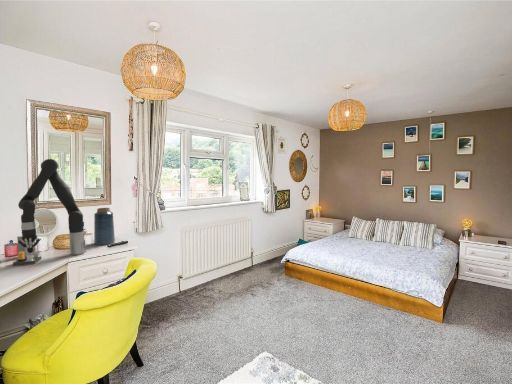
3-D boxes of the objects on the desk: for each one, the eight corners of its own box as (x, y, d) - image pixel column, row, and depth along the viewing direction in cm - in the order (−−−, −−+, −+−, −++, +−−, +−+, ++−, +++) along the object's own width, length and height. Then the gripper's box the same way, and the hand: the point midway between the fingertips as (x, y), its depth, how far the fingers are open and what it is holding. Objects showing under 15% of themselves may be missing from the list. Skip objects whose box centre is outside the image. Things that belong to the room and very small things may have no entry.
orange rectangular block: (26, 258, 187) (26, 251, 187) (23, 259, 184) (23, 252, 183) (19, 258, 186) (18, 251, 185) (16, 260, 182) (15, 253, 182)
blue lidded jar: (97, 241, 245) (96, 207, 243) (117, 240, 249) (116, 207, 247) (91, 245, 229) (90, 209, 227) (112, 244, 233) (110, 209, 231)
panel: (42, 258, 193) (41, 250, 193) (33, 264, 182) (33, 255, 181) (22, 260, 190) (21, 251, 190) (12, 265, 178) (11, 256, 178)
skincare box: (25, 258, 195) (23, 237, 194) (17, 257, 196) (16, 236, 195) (36, 254, 203) (35, 234, 202) (29, 254, 205) (28, 234, 204)
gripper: (42, 226, 190) (44, 250, 191) (20, 228, 186) (22, 252, 187) (37, 228, 183) (39, 253, 184) (13, 230, 179) (16, 255, 180)
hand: (30, 252), depth 186 cm, fingers closed
